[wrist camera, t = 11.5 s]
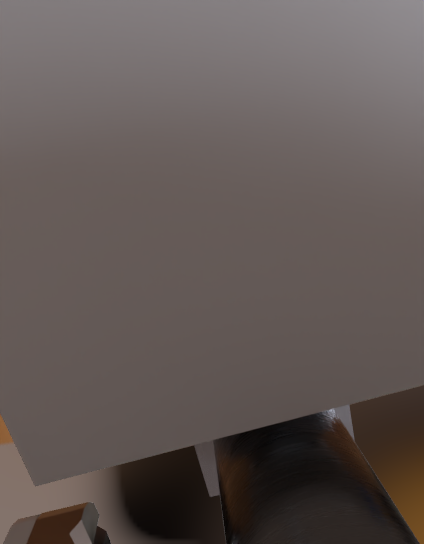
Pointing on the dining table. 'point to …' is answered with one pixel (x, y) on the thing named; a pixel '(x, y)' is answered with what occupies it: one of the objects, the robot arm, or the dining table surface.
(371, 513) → the shaft
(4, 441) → the dining table surface
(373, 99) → the block
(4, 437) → the dining table surface
